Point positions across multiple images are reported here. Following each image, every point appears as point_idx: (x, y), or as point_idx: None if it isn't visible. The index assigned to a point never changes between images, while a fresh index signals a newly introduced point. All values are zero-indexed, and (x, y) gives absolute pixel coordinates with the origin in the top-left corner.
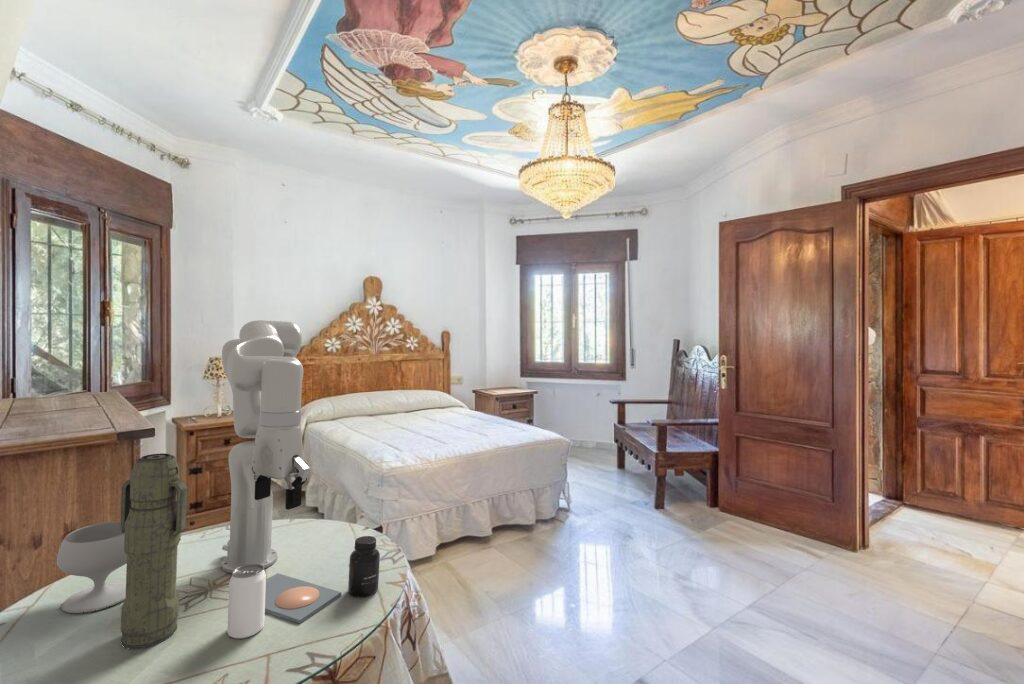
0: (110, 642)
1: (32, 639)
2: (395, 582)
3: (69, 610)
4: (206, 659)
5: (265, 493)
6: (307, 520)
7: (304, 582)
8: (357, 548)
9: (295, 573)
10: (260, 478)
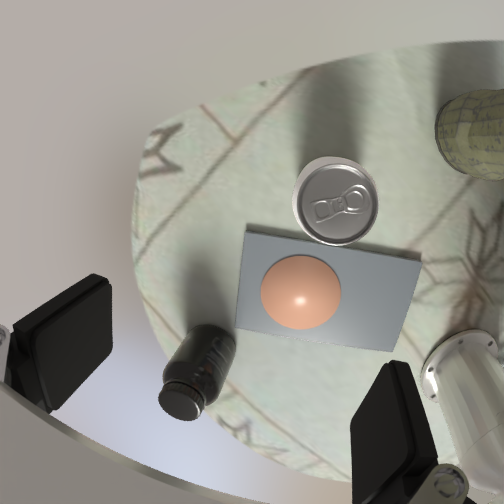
0: None
1: None
2: None
3: None
4: (326, 100)
5: (365, 418)
6: None
7: (323, 340)
8: (185, 384)
9: (365, 365)
10: (402, 489)
